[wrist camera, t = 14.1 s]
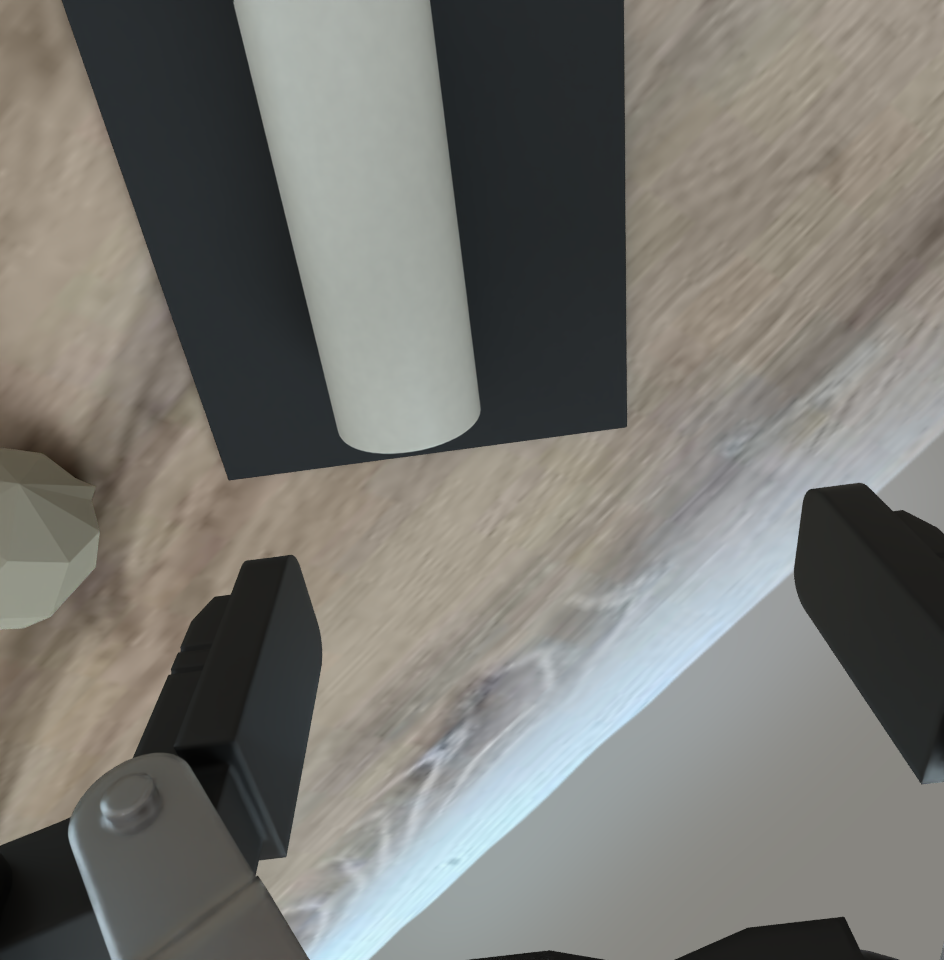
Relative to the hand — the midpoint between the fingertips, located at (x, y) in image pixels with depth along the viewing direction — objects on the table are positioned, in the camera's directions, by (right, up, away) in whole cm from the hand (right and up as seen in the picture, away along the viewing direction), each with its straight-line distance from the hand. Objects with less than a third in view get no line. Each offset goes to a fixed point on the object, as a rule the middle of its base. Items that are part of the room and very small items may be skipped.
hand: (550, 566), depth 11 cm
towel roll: (-4, +11, +15) cm, 20 cm away
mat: (-5, +11, +16) cm, 20 cm away
